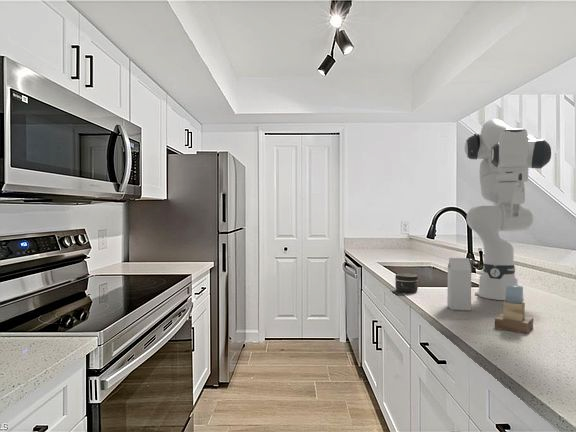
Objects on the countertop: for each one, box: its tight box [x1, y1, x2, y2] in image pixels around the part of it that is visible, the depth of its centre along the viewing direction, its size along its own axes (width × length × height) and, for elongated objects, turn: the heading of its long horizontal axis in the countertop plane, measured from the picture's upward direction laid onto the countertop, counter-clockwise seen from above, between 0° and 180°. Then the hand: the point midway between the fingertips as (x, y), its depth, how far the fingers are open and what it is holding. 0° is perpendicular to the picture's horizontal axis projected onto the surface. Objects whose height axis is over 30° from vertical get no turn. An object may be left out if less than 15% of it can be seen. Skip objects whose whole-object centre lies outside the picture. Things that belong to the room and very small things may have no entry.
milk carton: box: [446, 257, 472, 311], centre depth 159 cm, size 7×7×19 cm
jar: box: [394, 273, 419, 294], centre depth 192 cm, size 10×10×8 cm
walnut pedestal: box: [494, 313, 534, 334], centre depth 132 cm, size 9×9×3 cm
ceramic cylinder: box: [504, 284, 524, 304], centre depth 132 cm, size 5×5×5 cm
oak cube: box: [502, 301, 526, 321], centre depth 132 cm, size 5×5×5 cm
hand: (512, 217), depth 142 cm, fingers open, 8 cm apart
